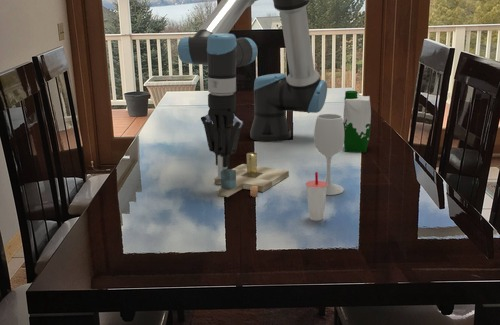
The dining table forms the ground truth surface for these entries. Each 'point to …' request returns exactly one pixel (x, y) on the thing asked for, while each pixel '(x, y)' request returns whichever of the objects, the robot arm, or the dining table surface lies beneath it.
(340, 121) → the wineglass
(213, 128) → the robot arm
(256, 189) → the dowel
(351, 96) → the milk carton
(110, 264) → the dining table surface
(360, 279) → the dining table surface
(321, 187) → the cup
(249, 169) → the post
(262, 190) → the light wooden flat board
